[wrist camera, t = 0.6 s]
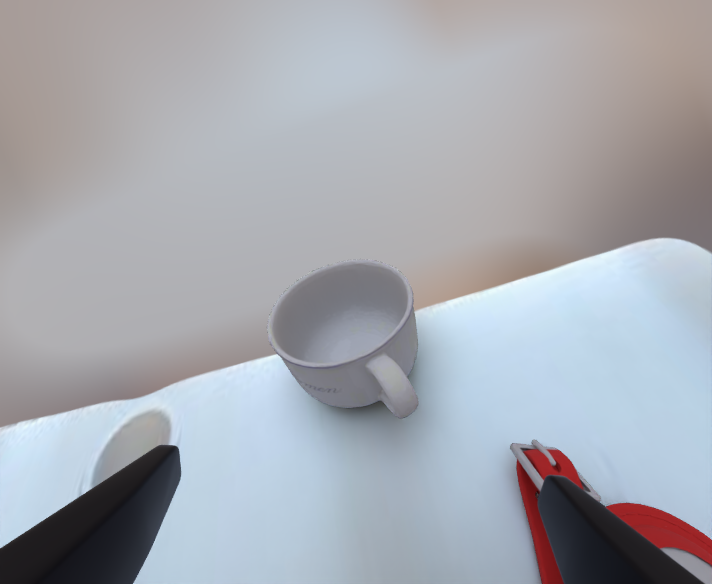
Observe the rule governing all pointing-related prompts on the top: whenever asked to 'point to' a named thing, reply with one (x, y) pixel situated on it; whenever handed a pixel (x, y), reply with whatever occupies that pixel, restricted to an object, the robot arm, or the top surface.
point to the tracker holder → (657, 526)
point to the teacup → (349, 335)
